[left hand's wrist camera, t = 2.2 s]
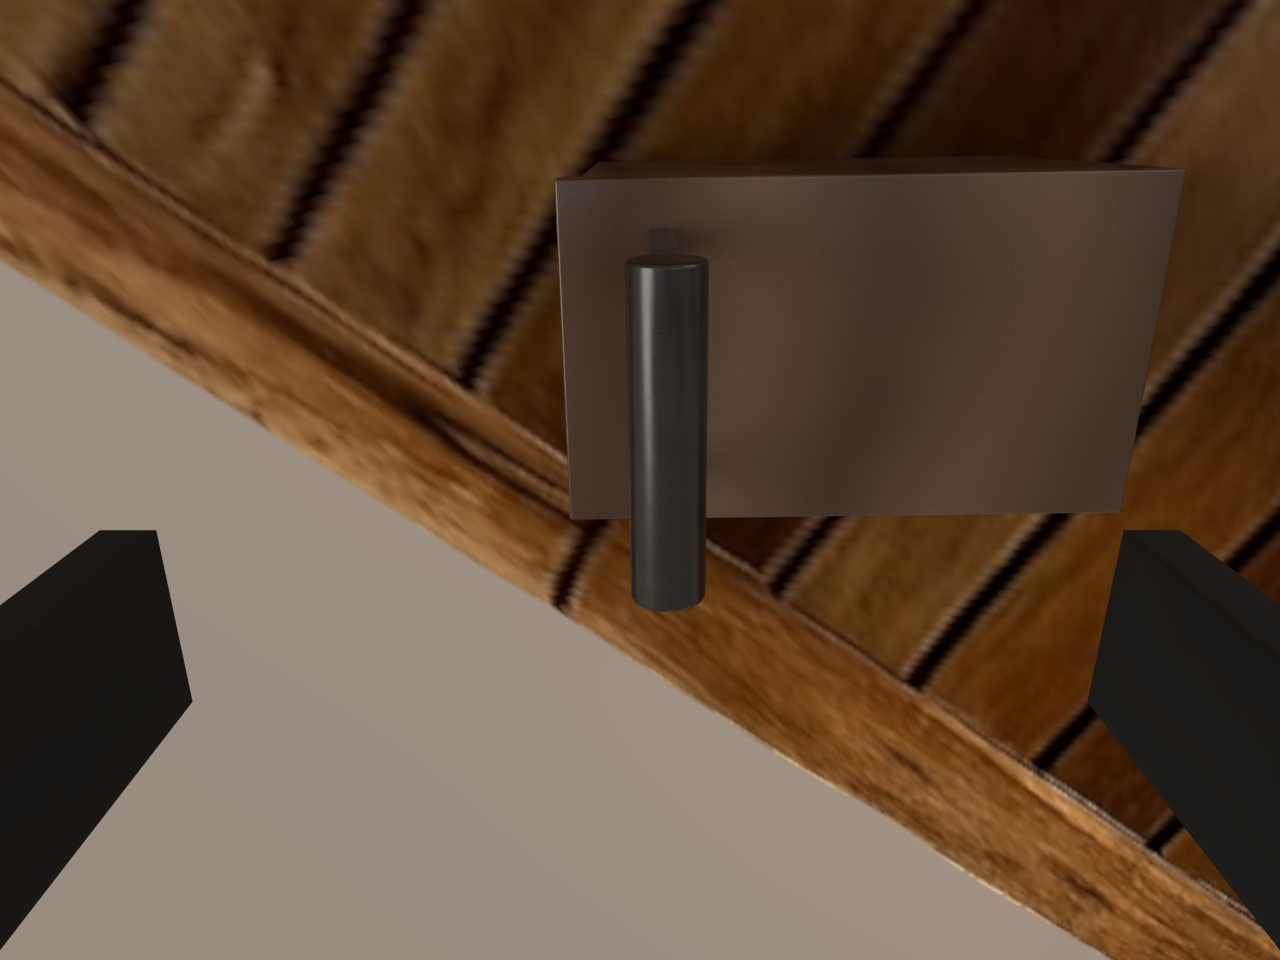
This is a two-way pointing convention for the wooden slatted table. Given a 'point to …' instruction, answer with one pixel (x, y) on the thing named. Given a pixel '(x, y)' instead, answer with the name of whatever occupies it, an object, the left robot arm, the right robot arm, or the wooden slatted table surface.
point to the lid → (852, 347)
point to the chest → (841, 165)
